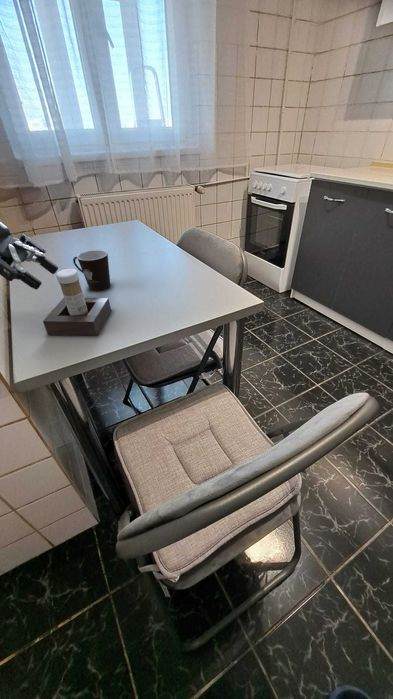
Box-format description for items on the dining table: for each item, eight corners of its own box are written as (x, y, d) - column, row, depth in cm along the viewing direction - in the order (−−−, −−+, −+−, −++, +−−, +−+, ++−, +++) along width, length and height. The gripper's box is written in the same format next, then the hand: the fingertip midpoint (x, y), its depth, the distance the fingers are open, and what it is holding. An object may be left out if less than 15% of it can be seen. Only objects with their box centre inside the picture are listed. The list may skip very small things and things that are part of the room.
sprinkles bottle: (86, 316, 77) (72, 266, 69) (93, 322, 74) (79, 272, 66) (69, 322, 75) (52, 271, 67) (76, 329, 72) (59, 277, 64)
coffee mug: (119, 287, 91) (112, 255, 85) (93, 295, 87) (84, 262, 81) (101, 276, 98) (95, 245, 92) (77, 283, 94) (68, 252, 88)
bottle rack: (97, 336, 70) (93, 321, 67) (48, 335, 70) (42, 321, 68) (111, 310, 79) (108, 297, 77) (68, 310, 80) (63, 297, 77)
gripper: (-41, 222, 54) (41, 280, 60) (3, 205, 65) (68, 256, 72) (-53, 251, 58) (25, 303, 64) (-9, 230, 69) (54, 276, 75)
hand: (48, 278), depth 68 cm, fingers open, 8 cm apart
